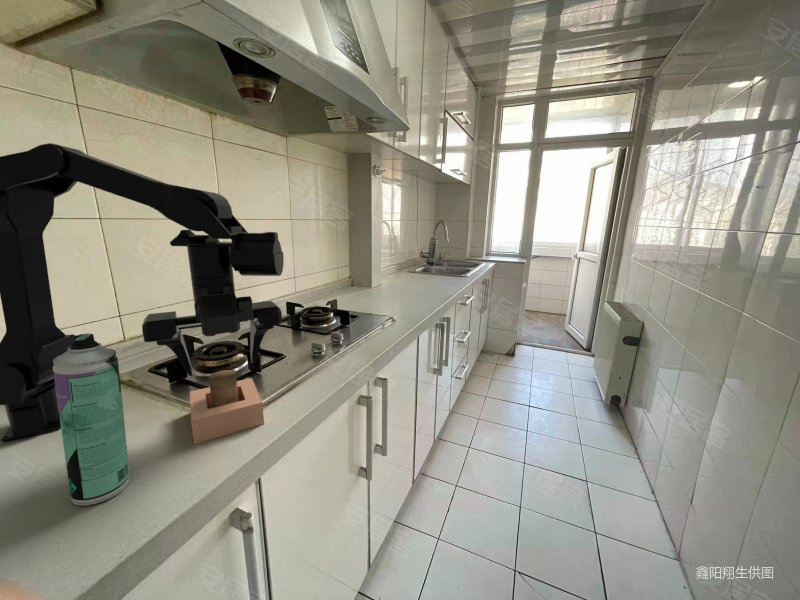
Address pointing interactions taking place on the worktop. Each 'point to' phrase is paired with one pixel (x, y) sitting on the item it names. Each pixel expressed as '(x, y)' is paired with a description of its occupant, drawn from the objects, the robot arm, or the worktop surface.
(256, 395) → the socket block
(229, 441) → the worktop surface
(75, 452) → the spray can
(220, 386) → the peg
